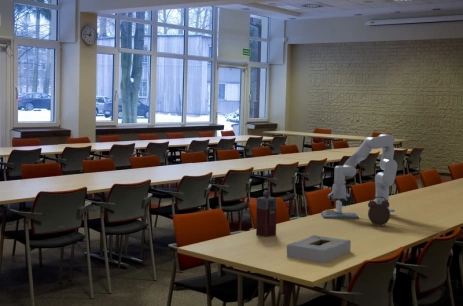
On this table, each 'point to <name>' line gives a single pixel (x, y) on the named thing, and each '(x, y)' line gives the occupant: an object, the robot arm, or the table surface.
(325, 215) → the plate
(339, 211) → the peg
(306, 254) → the box
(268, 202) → the maroon square bottle
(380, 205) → the alarm clock
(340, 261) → the table surface
